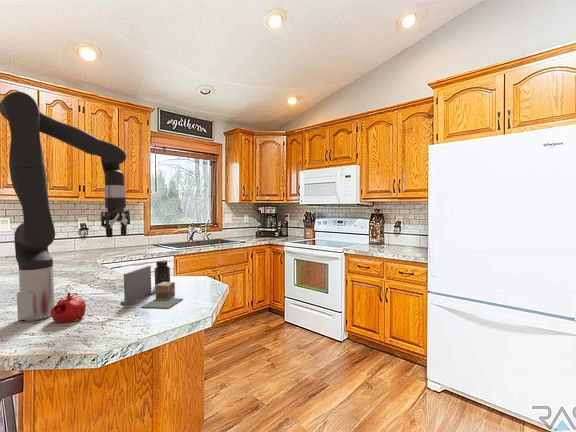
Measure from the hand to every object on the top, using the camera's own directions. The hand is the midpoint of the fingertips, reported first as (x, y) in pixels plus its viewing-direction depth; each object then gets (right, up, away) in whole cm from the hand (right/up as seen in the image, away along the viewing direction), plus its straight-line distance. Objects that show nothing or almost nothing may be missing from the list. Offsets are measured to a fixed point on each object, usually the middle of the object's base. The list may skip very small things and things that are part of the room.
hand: (116, 236), depth 127 cm
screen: (+9, -26, 0) cm, 27 cm away
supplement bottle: (+11, -25, +19) cm, 33 cm away
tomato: (-4, -27, -22) cm, 35 cm away
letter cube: (+19, -26, +3) cm, 32 cm away
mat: (+22, -26, -7) cm, 34 cm away
